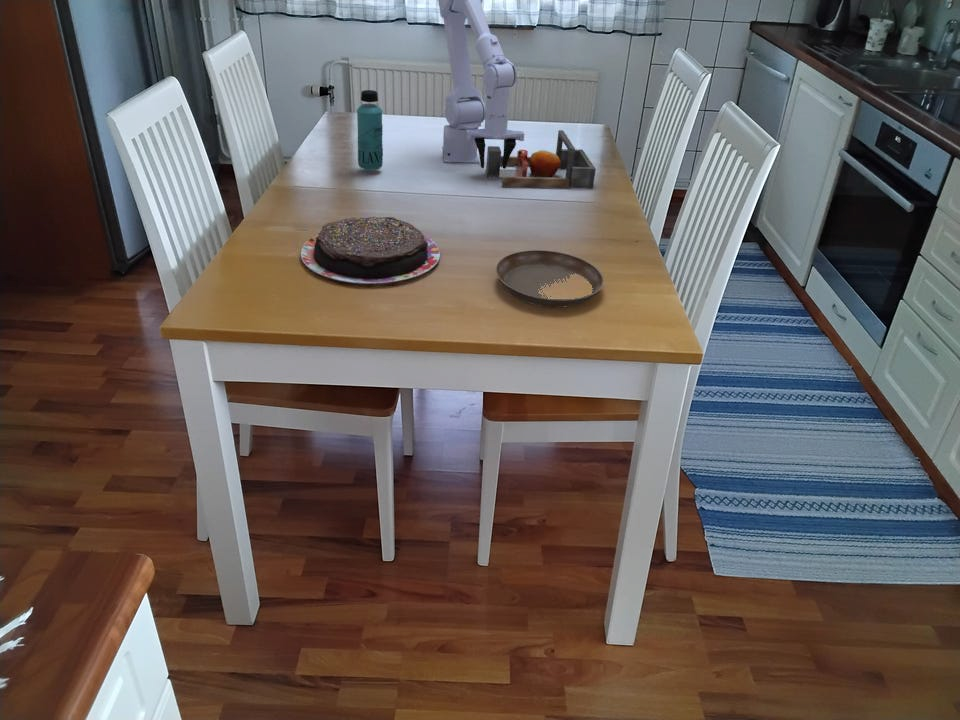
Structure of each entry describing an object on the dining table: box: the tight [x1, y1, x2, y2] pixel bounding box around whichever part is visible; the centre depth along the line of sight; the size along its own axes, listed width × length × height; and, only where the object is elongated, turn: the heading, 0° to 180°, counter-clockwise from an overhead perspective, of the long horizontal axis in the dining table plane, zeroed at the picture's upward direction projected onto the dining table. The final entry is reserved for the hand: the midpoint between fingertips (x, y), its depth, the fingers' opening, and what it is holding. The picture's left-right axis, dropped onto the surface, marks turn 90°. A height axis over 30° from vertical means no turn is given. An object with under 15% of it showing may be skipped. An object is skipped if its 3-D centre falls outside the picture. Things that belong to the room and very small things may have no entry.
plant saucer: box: [495, 249, 604, 308], centre depth 144 cm, size 21×21×3 cm
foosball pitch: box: [500, 129, 597, 189], centre depth 195 cm, size 24×17×10 cm
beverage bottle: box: [356, 89, 384, 171], centre depth 187 cm, size 6×7×20 cm
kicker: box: [485, 145, 529, 180], centre depth 194 cm, size 10×10×7 cm
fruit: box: [529, 149, 561, 178], centre depth 196 cm, size 8×8×8 cm
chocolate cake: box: [300, 216, 441, 288], centre depth 150 cm, size 28×28×7 cm
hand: (493, 167), depth 195 cm, fingers open, 5 cm apart
